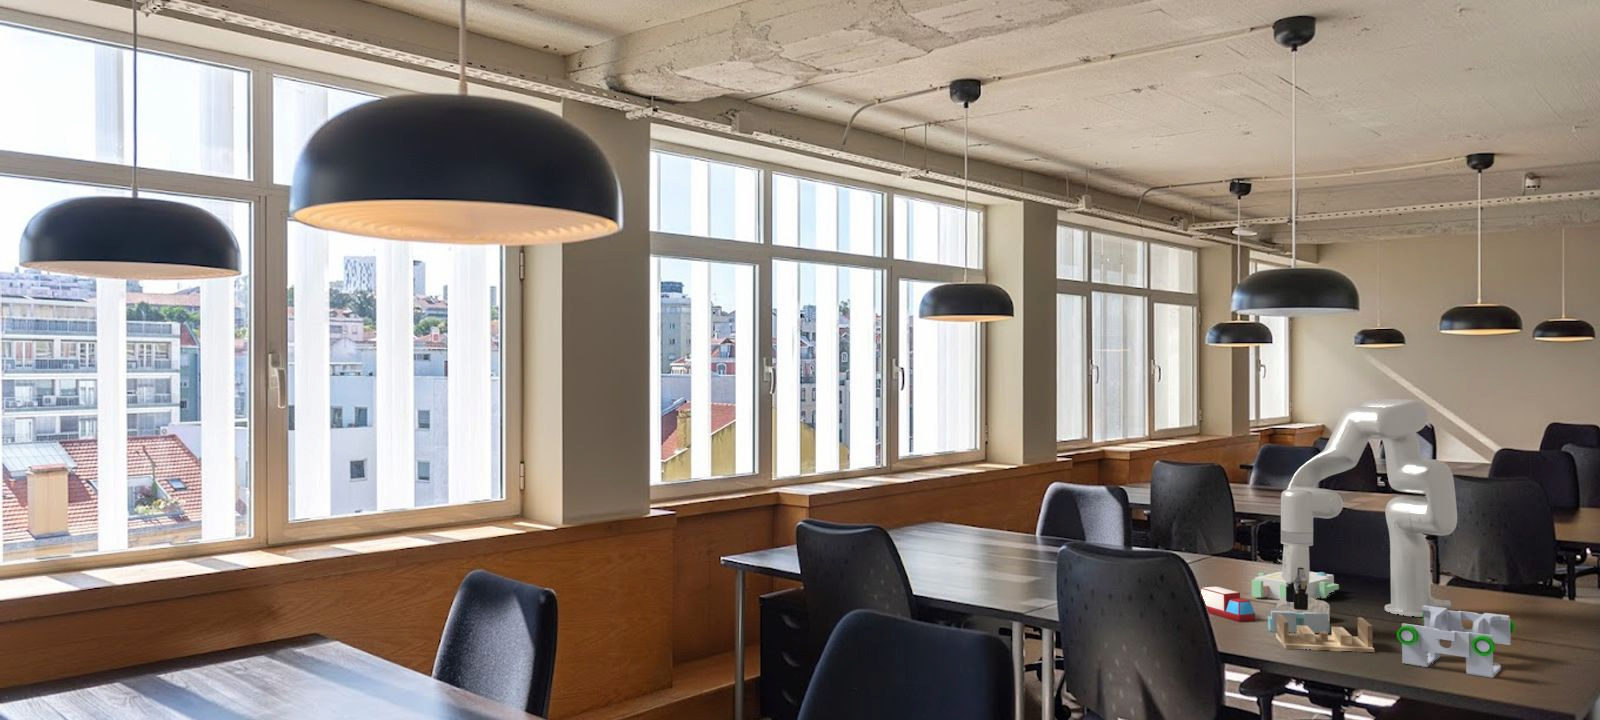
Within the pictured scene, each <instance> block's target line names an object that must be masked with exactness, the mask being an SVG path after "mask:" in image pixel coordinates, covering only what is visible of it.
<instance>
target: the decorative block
mask: <svg viewBox="0 0 1600 720" xmlns="http://www.w3.org/2000/svg"><path fill="white" fill-rule="evenodd" d="M1257 574H1258V576H1254V579H1251V597H1256V598H1265V597H1268V598H1267V599H1271V598H1273V599H1272V600H1277V599H1280V600H1281V599H1282V598H1283V597H1284V596H1285V595H1286V586H1287V585H1286V581H1285V580H1284V579H1283V578H1282V570H1281V571H1278V572H1277V571H1276V572H1273V573H1268V574H1266V572H1258V573H1257ZM1334 579H1335V577H1334V574H1329V573H1326V572H1323V571H1319V572H1318V571H1317V572H1314V571H1311V570H1309V584H1307V590H1308V597H1311V598H1314V599H1317V598H1320V597H1321V599H1327V598H1328V597H1329V596H1330V594H1329V593H1331V592H1334V593H1335V591H1337V590H1339V589H1340V584H1337V583H1335V580H1334ZM1328 595H1329V596H1328ZM1327 596H1328V597H1327ZM1280 600H1279V601H1280ZM1317 600H1318V599H1317Z"/></svg>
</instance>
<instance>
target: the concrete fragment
mask: <svg viewBox="0 0 1600 720" xmlns="http://www.w3.org/2000/svg"><path fill="white" fill-rule="evenodd" d="M1275 611H1294V612H1295V613H1303V612H1322V613H1327V614H1328V620H1329V621H1331V620H1330V619H1331V618H1330V617H1331V605H1330V604H1329V602H1327V601H1325V600H1320V599H1317V600H1316V599H1314V598H1311V597H1308V610H1296V609H1294V602H1287V601H1286V595H1285V596H1284V597H1283V598H1282V599H1281V600H1279V601H1278V602H1277V604H1276V606H1275Z"/></svg>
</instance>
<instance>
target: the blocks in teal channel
mask: <svg viewBox="0 0 1600 720" xmlns="http://www.w3.org/2000/svg"><path fill="white" fill-rule="evenodd" d="M1277 614H1281V615H1282V616H1283V617H1284V618H1285V619H1286V620H1287V622H1288V623H1289V632H1290V633H1289V634H1297V631H1296V630H1297V625H1304V626H1308V627H1309V628H1310V629H1311V630H1312V631H1313V632H1314V633H1319V631H1326V632H1327V633H1330V634H1331V631H1330V630H1331V629H1330V628H1331V627H1330V626H1331V625H1330V623H1331V622H1330V621H1331V620H1330V621H1329V620H1328V614H1327V613H1322V612H1303V613H1295V612H1294V611H1276V610H1270V615H1267V629H1268V631H1269V632H1272V633H1277ZM1294 632H1295V633H1294Z"/></svg>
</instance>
